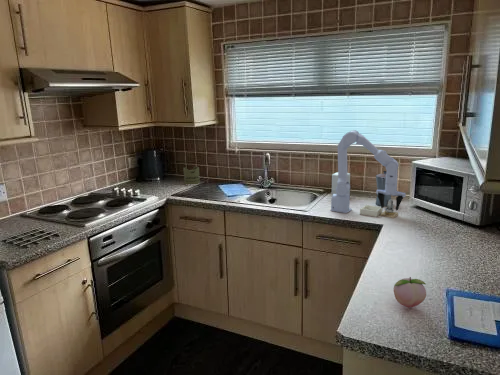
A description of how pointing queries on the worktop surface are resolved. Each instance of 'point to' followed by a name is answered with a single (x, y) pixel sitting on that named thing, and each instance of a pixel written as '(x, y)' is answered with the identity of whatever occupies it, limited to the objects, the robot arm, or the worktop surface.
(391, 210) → the coffee tamper
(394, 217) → the stud block
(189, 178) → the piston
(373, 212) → the tray
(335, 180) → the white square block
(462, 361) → the worktop surface
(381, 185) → the moka pot
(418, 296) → the decorative fruit
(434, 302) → the worktop surface
